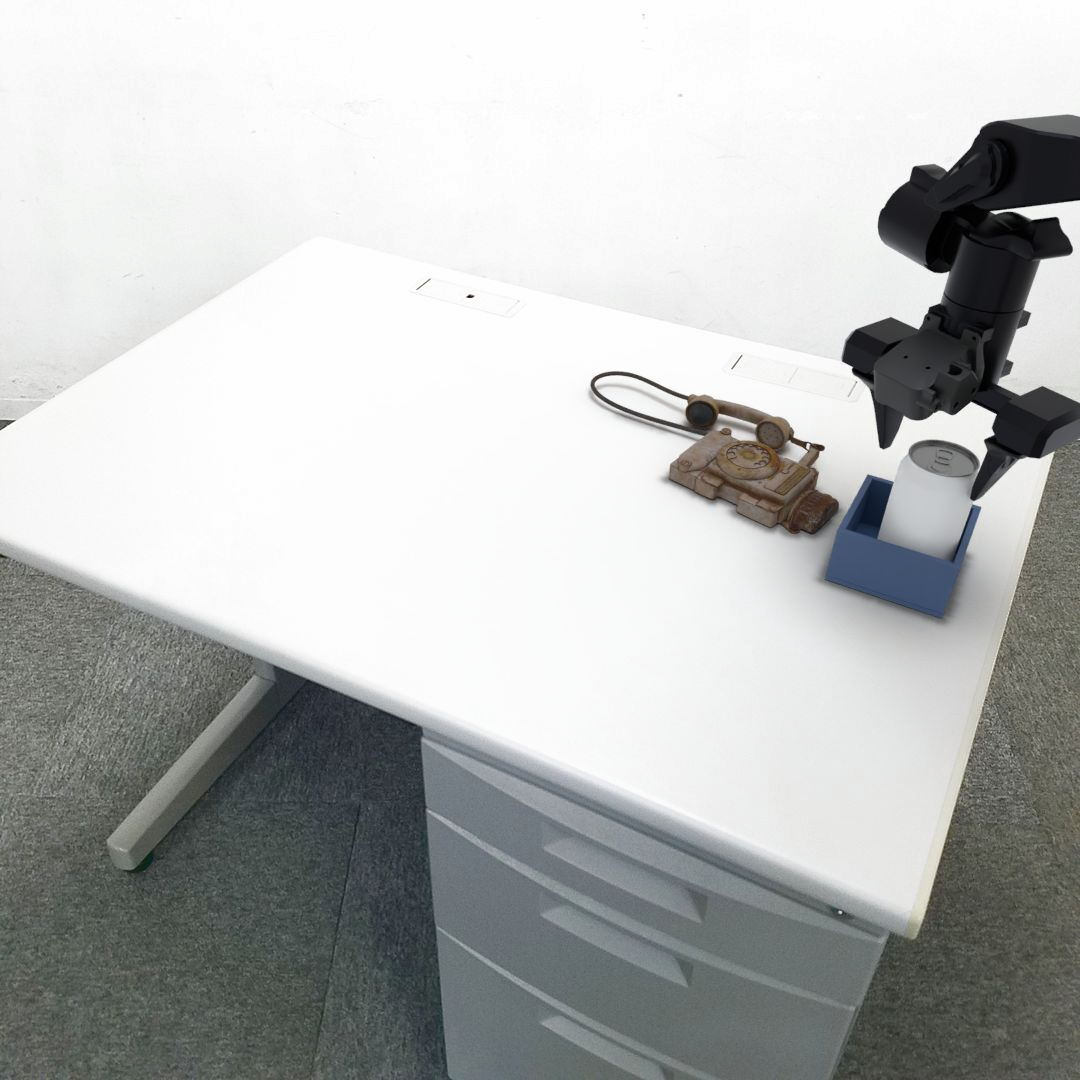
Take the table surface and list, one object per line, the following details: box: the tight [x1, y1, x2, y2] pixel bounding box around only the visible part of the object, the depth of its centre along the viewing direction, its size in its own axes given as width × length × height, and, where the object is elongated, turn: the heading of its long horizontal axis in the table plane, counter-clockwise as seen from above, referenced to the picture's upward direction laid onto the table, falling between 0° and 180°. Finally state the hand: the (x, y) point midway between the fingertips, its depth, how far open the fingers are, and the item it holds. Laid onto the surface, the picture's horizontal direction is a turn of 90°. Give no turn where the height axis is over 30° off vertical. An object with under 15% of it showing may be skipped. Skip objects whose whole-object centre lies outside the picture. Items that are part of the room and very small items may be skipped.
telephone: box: [589, 370, 840, 534], centre depth 102 cm, size 15×33×4 cm, turn 49°
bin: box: [824, 473, 982, 619], centre depth 86 cm, size 10×10×6 cm
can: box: [877, 438, 981, 562], centre depth 83 cm, size 6×6×12 cm
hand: (928, 472), depth 81 cm, fingers open, 9 cm apart
